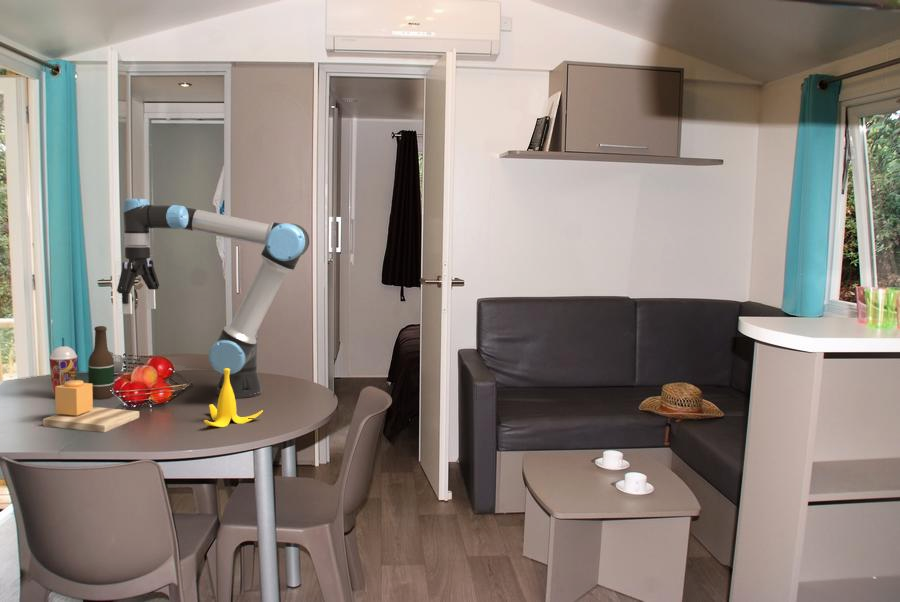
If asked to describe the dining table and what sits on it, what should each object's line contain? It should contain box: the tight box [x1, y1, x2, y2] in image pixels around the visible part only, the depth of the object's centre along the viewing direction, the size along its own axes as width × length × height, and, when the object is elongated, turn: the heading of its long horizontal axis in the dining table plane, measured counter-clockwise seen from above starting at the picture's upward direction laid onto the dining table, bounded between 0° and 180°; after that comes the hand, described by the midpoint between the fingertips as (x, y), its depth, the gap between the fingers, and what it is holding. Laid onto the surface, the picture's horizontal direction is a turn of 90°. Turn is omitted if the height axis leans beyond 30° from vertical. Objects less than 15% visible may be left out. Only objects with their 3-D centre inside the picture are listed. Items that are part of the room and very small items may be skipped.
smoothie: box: [48, 337, 79, 397], centre depth 238 cm, size 8×8×20 cm
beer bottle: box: [87, 325, 115, 400], centre depth 240 cm, size 8×8×24 cm
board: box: [42, 406, 140, 433], centre depth 212 cm, size 20×16×9 cm
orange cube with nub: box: [54, 379, 94, 415], centre depth 213 cm, size 7×7×9 cm
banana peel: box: [203, 368, 264, 428], centre depth 215 cm, size 17×19×17 cm
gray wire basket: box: [109, 351, 154, 376], centre depth 270 cm, size 27×11×10 cm, turn 82°
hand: (139, 311), depth 235 cm, fingers open, 13 cm apart
